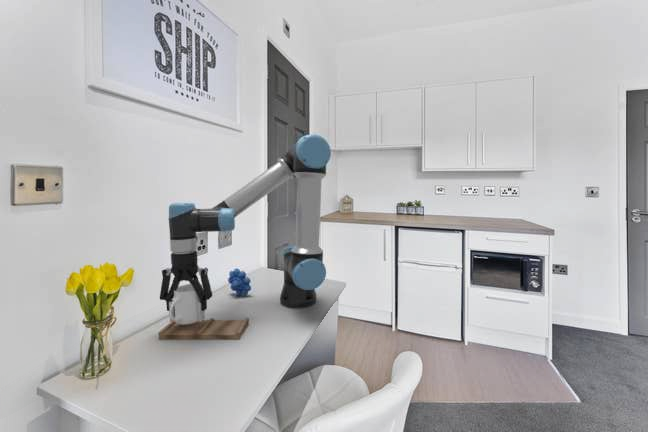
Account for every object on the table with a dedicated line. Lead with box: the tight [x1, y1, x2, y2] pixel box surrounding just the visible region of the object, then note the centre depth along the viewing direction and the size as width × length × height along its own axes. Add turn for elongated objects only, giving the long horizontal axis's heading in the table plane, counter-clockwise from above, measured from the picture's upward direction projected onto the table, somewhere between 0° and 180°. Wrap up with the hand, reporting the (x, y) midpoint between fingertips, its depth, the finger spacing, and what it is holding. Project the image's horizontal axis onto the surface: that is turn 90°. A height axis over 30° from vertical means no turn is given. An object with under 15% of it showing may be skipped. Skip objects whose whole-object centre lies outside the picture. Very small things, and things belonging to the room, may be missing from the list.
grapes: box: [227, 268, 252, 297], centre depth 120 cm, size 12×7×12 cm, turn 70°
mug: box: [169, 283, 203, 325], centre depth 90 cm, size 9×12×11 cm
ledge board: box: [158, 317, 250, 340], centre depth 90 cm, size 25×10×2 cm, turn 89°
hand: (187, 320), depth 90 cm, fingers closed on mug, 9 cm apart
